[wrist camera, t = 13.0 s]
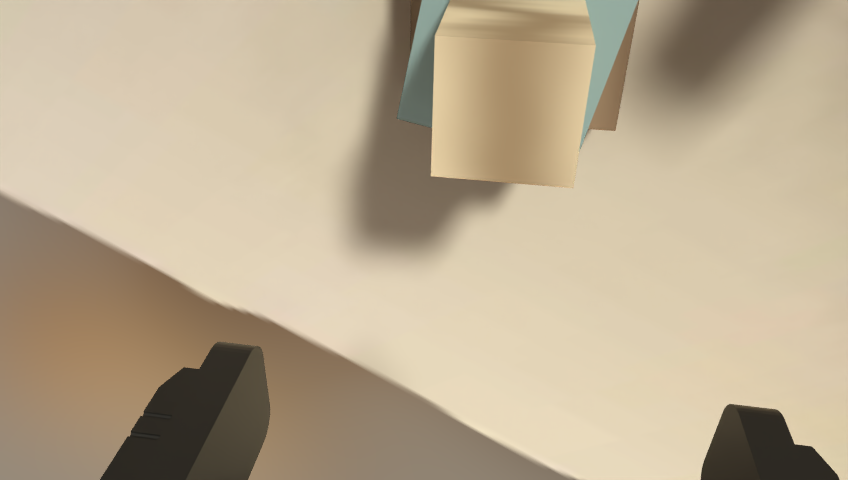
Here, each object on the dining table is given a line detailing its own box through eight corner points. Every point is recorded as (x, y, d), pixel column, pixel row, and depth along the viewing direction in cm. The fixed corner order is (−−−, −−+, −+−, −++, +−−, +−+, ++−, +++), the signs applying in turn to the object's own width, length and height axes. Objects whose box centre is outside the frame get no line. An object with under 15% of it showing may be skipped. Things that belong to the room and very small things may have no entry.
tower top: (411, 86, 33) (396, 118, 30) (449, -91, 29) (438, -76, 25) (570, 128, 33) (573, 165, 30) (633, -42, 29) (646, -21, 25)
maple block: (448, 111, 29) (430, 176, 24) (454, -10, 26) (435, 35, 22) (566, 120, 29) (573, 188, 24) (584, -3, 26) (595, 45, 21)
